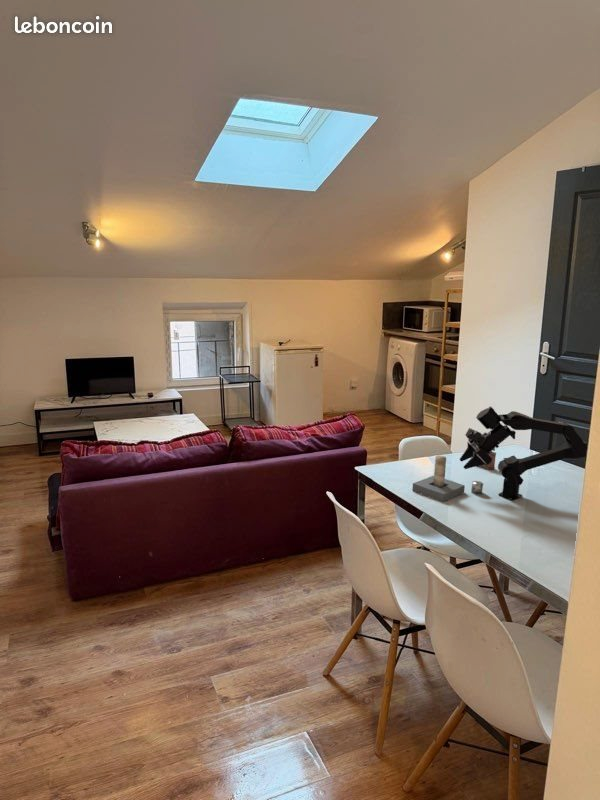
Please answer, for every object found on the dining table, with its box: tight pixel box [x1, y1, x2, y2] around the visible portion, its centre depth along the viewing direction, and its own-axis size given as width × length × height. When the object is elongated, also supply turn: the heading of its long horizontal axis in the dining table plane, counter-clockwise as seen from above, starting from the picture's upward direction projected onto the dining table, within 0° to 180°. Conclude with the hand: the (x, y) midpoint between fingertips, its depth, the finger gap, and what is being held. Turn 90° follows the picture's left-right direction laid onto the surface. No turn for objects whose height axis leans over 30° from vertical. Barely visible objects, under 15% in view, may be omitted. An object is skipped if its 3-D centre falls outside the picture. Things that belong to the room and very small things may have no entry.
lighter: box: [476, 447, 497, 471], centre depth 230 cm, size 8×3×10 cm, turn 55°
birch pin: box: [433, 455, 447, 488], centre depth 202 cm, size 4×4×14 cm
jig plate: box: [411, 475, 466, 502], centre depth 203 cm, size 14×14×3 cm
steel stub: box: [471, 480, 484, 496], centre depth 203 cm, size 4×4×4 cm
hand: (462, 464), depth 200 cm, fingers open, 9 cm apart
